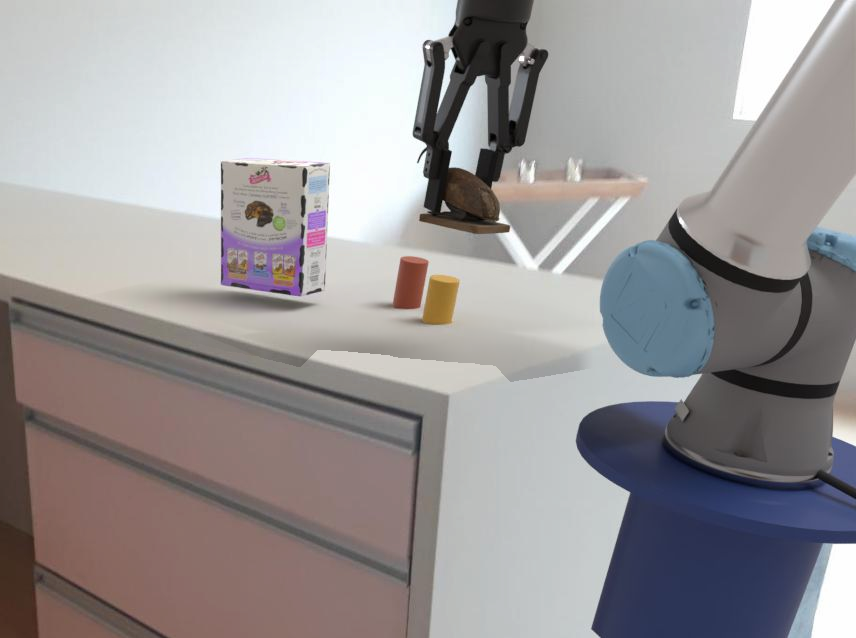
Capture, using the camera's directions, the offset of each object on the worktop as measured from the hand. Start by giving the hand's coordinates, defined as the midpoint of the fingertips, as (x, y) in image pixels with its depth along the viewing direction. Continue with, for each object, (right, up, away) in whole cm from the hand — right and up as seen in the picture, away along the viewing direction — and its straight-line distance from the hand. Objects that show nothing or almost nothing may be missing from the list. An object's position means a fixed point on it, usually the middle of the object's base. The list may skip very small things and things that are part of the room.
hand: (454, 210), depth 127 cm
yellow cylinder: (+2, -11, +16) cm, 20 cm away
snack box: (-17, -3, +27) cm, 32 cm away
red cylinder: (0, -7, +24) cm, 25 cm away
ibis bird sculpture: (0, -2, +1) cm, 2 cm away
